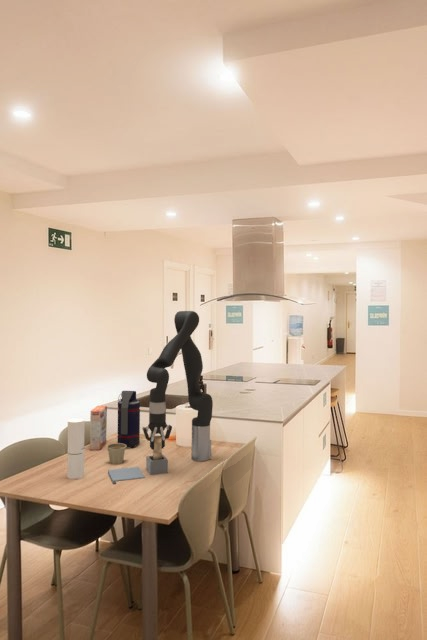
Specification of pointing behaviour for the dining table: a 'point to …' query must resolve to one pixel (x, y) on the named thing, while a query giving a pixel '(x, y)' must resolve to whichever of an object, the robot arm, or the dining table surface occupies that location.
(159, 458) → the dowel
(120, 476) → the board
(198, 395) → the robot arm
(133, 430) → the grenade
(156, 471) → the grey open box
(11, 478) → the dining table surface
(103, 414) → the cracker box
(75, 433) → the cylindrical container
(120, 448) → the flower pot
